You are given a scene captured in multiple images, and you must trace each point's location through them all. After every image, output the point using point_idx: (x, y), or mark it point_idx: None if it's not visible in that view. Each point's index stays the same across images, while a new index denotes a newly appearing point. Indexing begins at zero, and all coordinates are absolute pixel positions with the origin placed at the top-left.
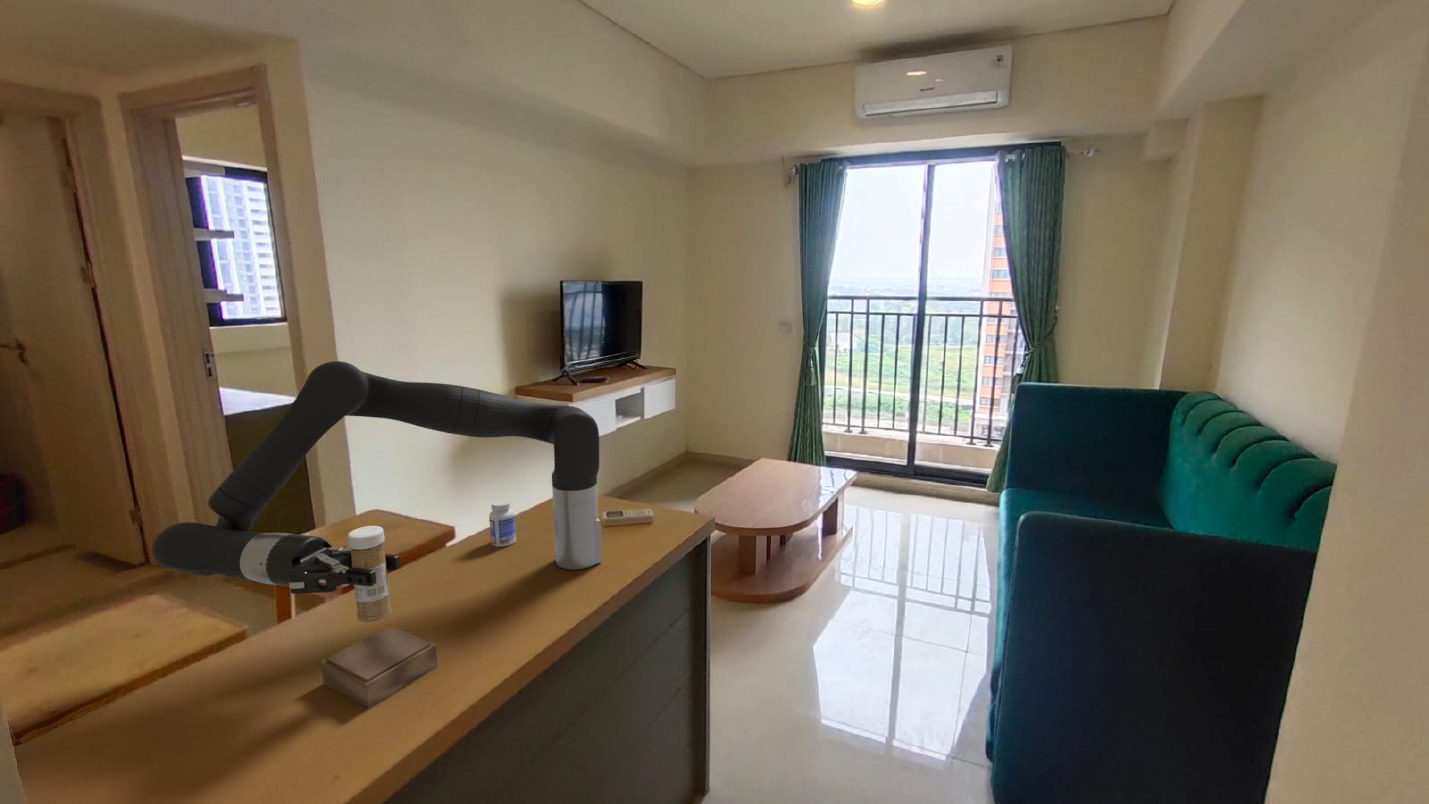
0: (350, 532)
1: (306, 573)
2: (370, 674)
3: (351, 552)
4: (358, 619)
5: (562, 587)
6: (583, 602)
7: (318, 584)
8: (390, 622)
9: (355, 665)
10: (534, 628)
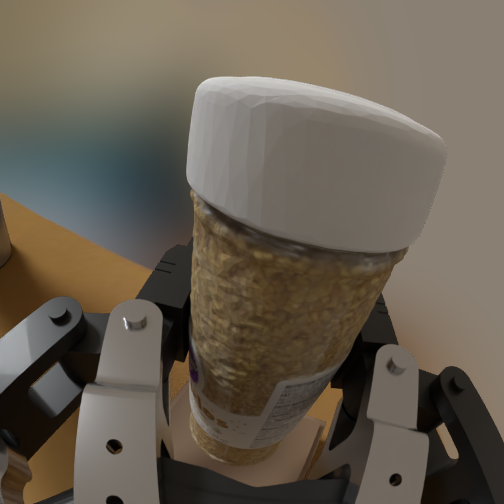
0: (409, 119)
1: (494, 497)
2: (306, 427)
3: (389, 274)
4: (275, 451)
5: (36, 269)
6: (81, 252)
7: (436, 472)
8: (44, 492)
9: (284, 470)
10: (120, 289)
